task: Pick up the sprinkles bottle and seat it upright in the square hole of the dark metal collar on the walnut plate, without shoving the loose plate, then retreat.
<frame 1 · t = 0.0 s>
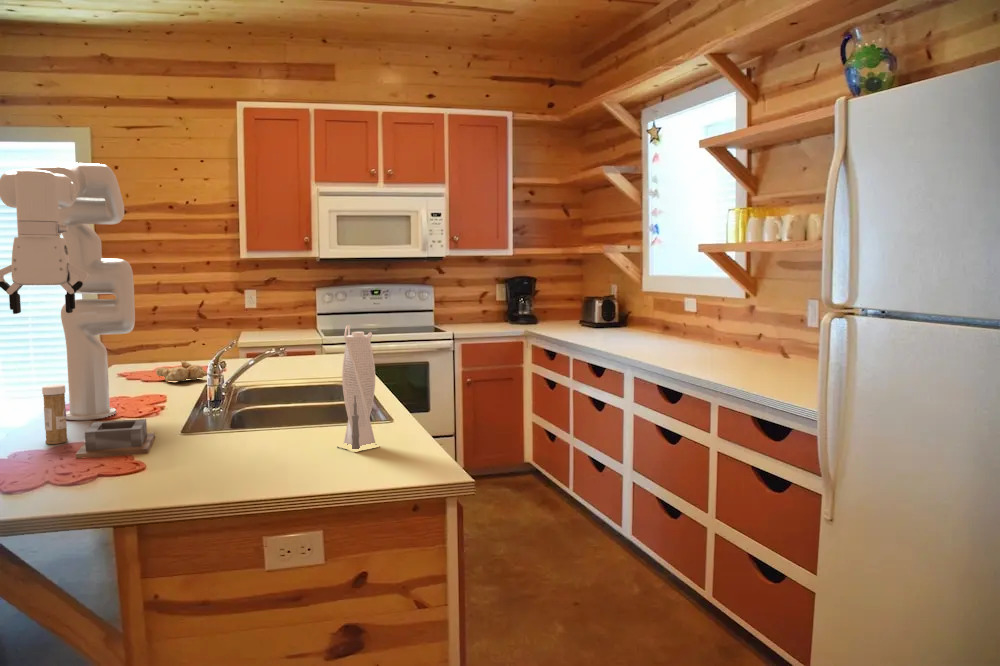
hand: (43, 312, 157), 31 cm above the worktop, tool pointing down, fingers open, 9 cm apart
ginger root: (183, 382, 260), on the worktop
sprinkles bottle: (56, 443, 174), on the worktop
skyscraper: (358, 447, 172), on the worktop
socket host: (117, 449, 170), on the worktop
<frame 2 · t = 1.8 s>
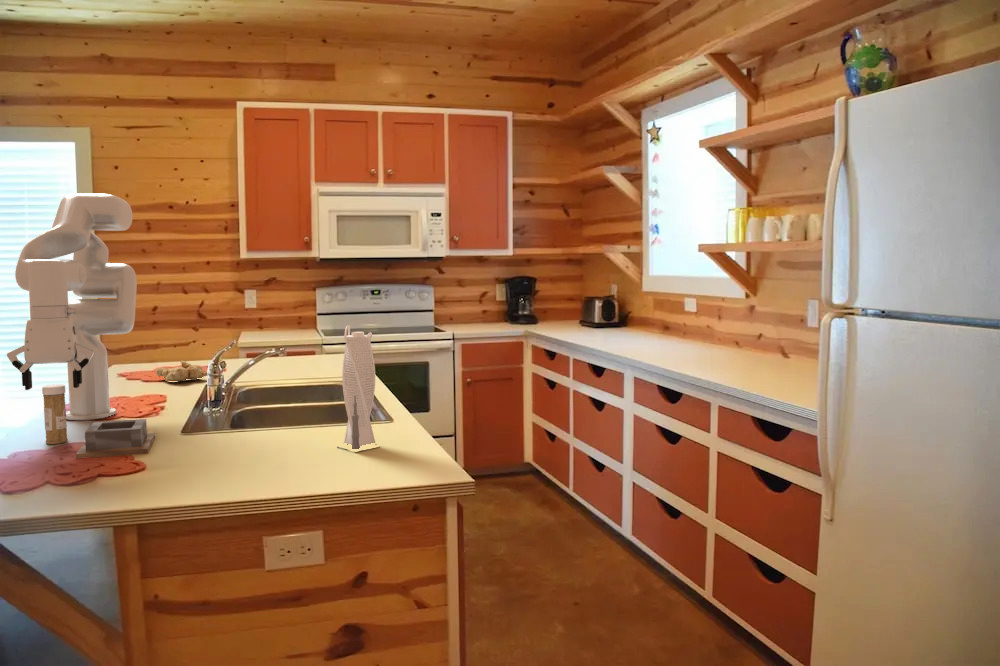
hand: (52, 388, 172), 13 cm above the worktop, tool pointing down, fingers open, 9 cm apart
nothing on the worktop moved.
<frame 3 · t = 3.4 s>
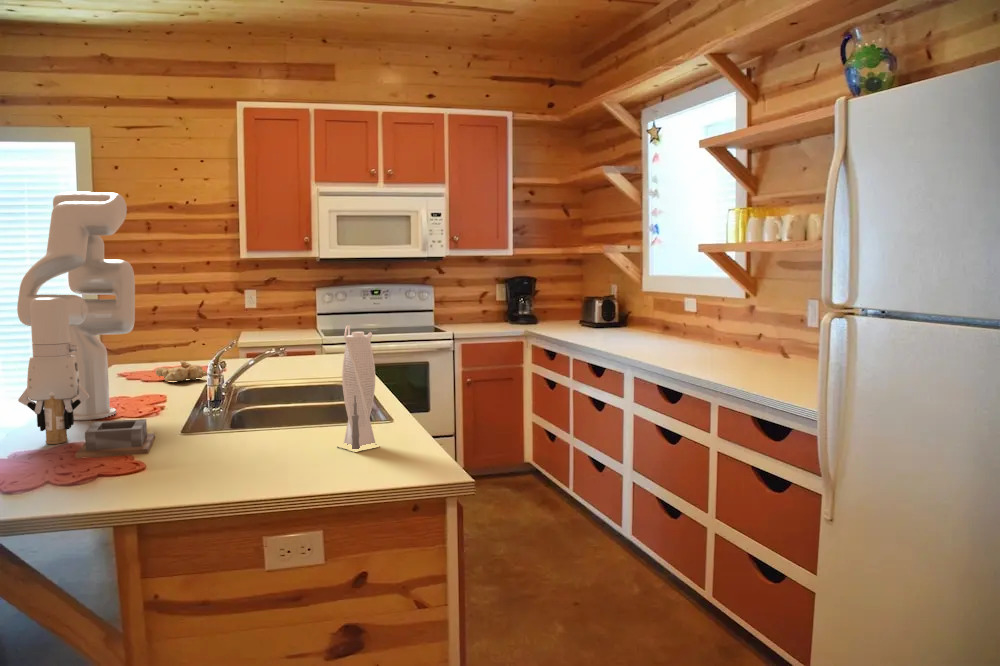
hand: (56, 428, 173), 3 cm above the worktop, tool pointing down, fingers closed on sprinkles bottle, 4 cm apart
sprinkles bottle: (56, 443, 174), on the worktop, touching gripper
everything else where it was.
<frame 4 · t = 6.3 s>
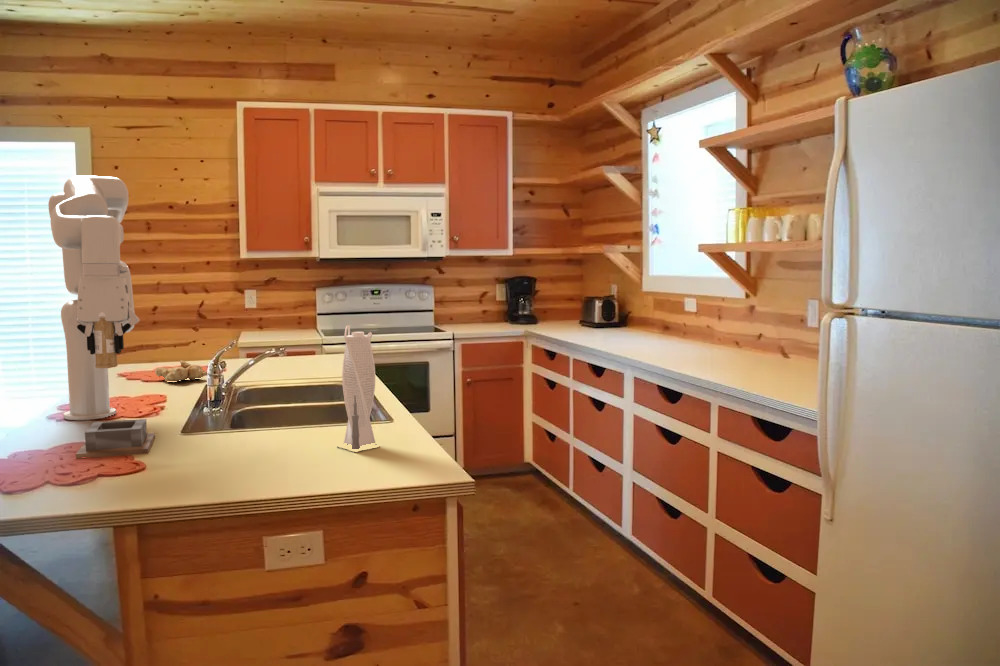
hand: (105, 352, 168), 22 cm above the worktop, tool pointing down, fingers closed on sprinkles bottle, 4 cm apart
sprinkles bottle: (106, 368, 168), point 18 cm above the worktop, touching gripper
everything else where it was.
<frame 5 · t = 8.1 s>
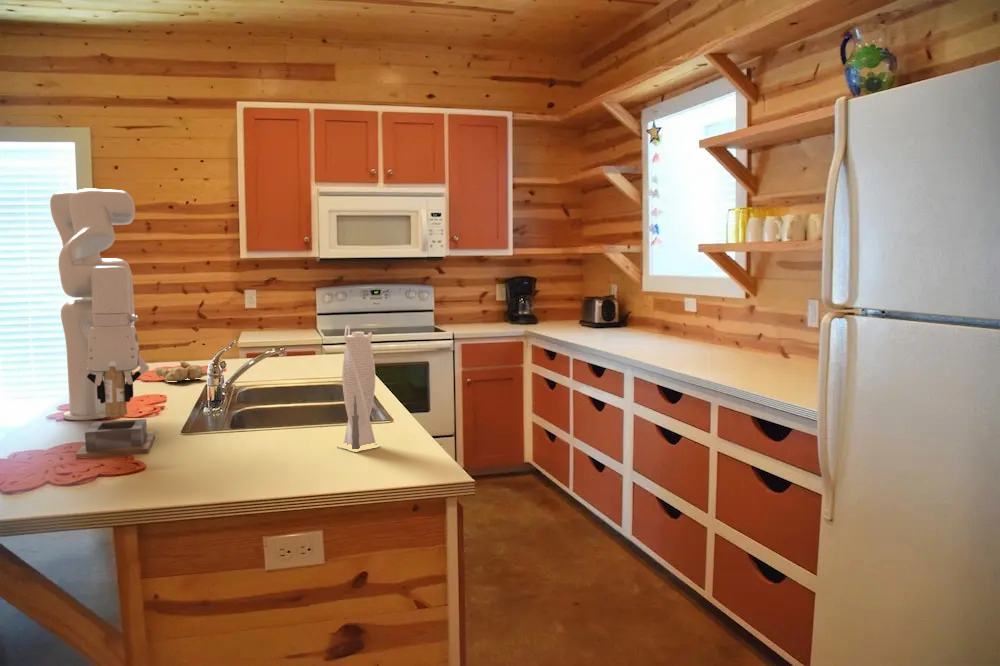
hand: (115, 400, 169), 11 cm above the worktop, tool pointing down, fingers closed on sprinkles bottle, 4 cm apart
sprinkles bottle: (116, 416, 169), point 7 cm above the worktop, touching gripper
everything else where it was.
when the fingers open (6 cm above the worktop, at t = 9.5 s): sprinkles bottle drops 2 cm, resting on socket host.
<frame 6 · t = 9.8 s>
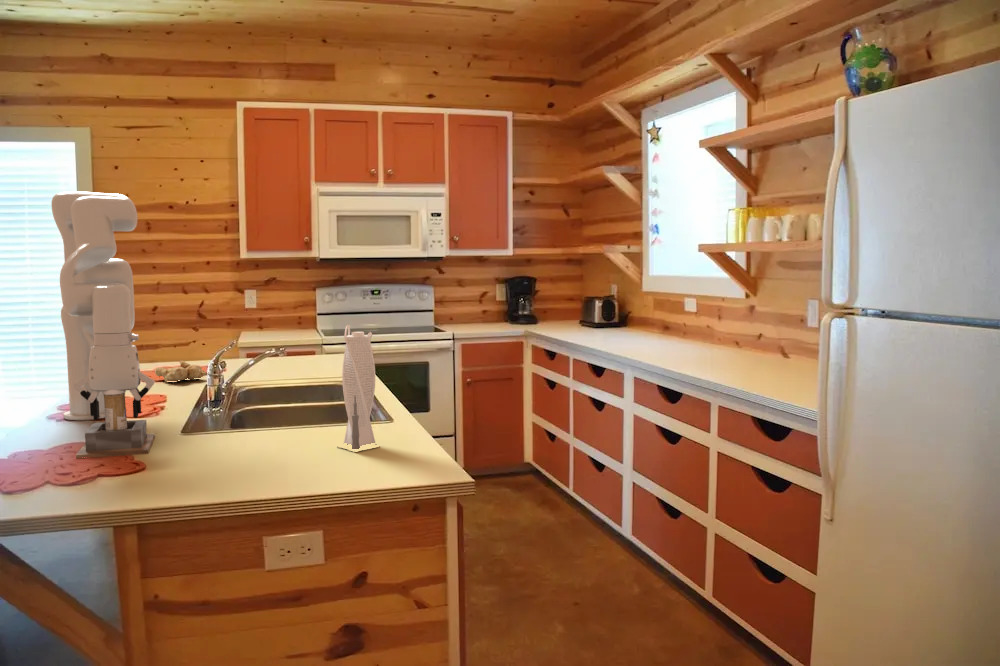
hand: (116, 417, 169), 7 cm above the worktop, tool pointing down, fingers open, 7 cm apart
sprinkles bottle: (117, 444, 170), point 1 cm above the worktop, touching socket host
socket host: (117, 450, 170), on the worktop, touching sprinkles bottle
everything else where it was.
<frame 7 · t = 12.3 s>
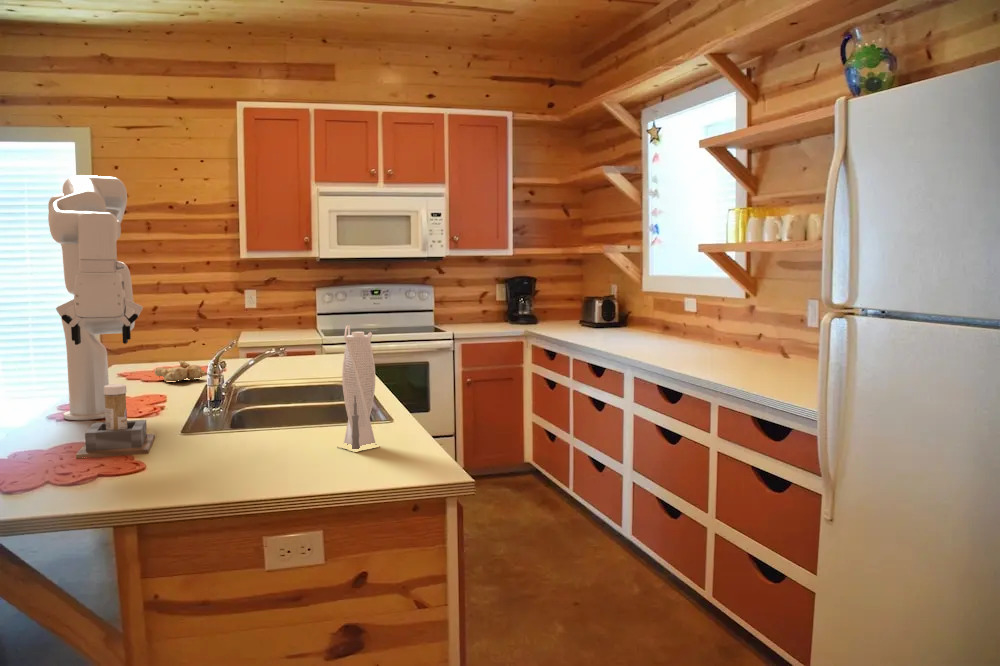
hand: (101, 343, 169), 23 cm above the worktop, tool pointing down, fingers open, 9 cm apart
nothing on the worktop moved.
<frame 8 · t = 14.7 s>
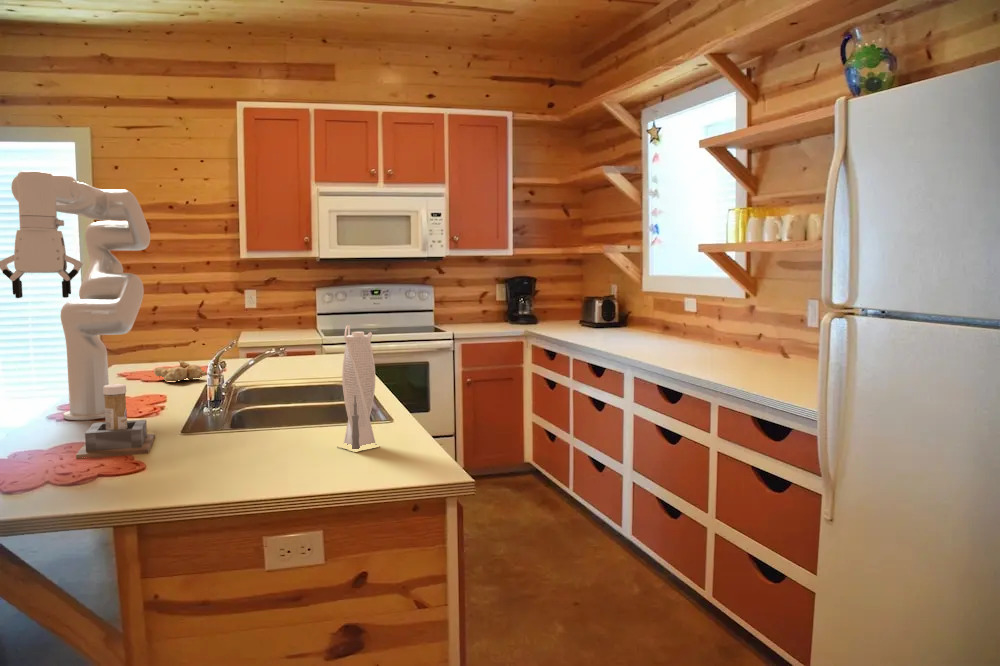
hand: (42, 297, 177), 33 cm above the worktop, tool pointing down, fingers open, 9 cm apart
nothing on the worktop moved.
at the end: sprinkles bottle 0.1 cm off-centre on the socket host, point 1.3 cm above the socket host's base; sprinkles bottle tilted 0°; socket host moved 0.7 cm from its start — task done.
